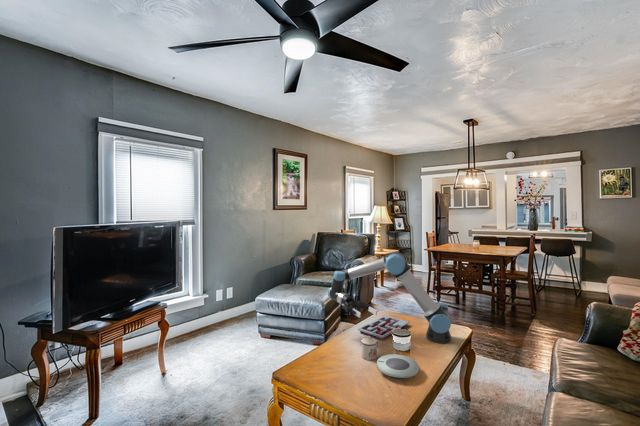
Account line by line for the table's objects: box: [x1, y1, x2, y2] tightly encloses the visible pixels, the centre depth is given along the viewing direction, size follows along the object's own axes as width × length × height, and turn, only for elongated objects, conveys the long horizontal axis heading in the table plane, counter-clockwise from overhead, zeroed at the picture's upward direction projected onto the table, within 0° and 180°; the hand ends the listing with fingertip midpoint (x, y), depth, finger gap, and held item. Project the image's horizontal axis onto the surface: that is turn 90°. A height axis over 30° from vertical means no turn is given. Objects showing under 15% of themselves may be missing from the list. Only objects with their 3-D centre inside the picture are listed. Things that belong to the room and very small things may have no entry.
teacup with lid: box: [360, 335, 379, 361], centre depth 177 cm, size 12×9×12 cm
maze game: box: [357, 315, 410, 341], centre depth 215 cm, size 35×20×3 cm, turn 136°
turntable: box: [376, 353, 420, 379], centre depth 159 cm, size 21×21×2 cm
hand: (368, 314), depth 181 cm, fingers open, 13 cm apart
